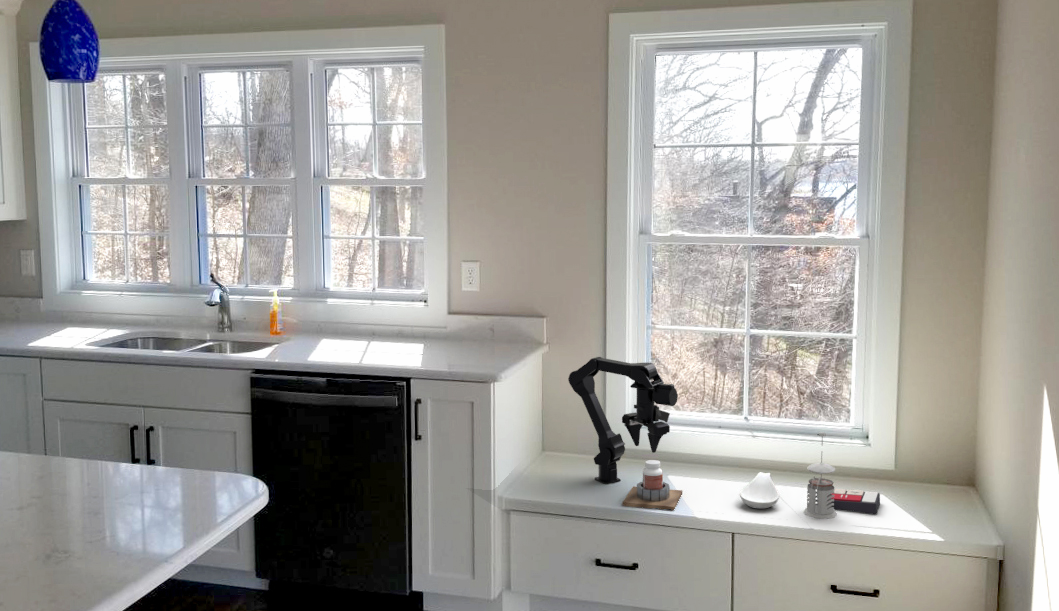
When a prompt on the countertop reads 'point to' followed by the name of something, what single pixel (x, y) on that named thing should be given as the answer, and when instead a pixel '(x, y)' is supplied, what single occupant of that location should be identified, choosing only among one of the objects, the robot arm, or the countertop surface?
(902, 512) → the countertop surface
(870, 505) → the black box
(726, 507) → the countertop surface
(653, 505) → the socket plate
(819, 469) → the french press
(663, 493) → the collar
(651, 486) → the pill bottle
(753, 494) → the spoon rest
